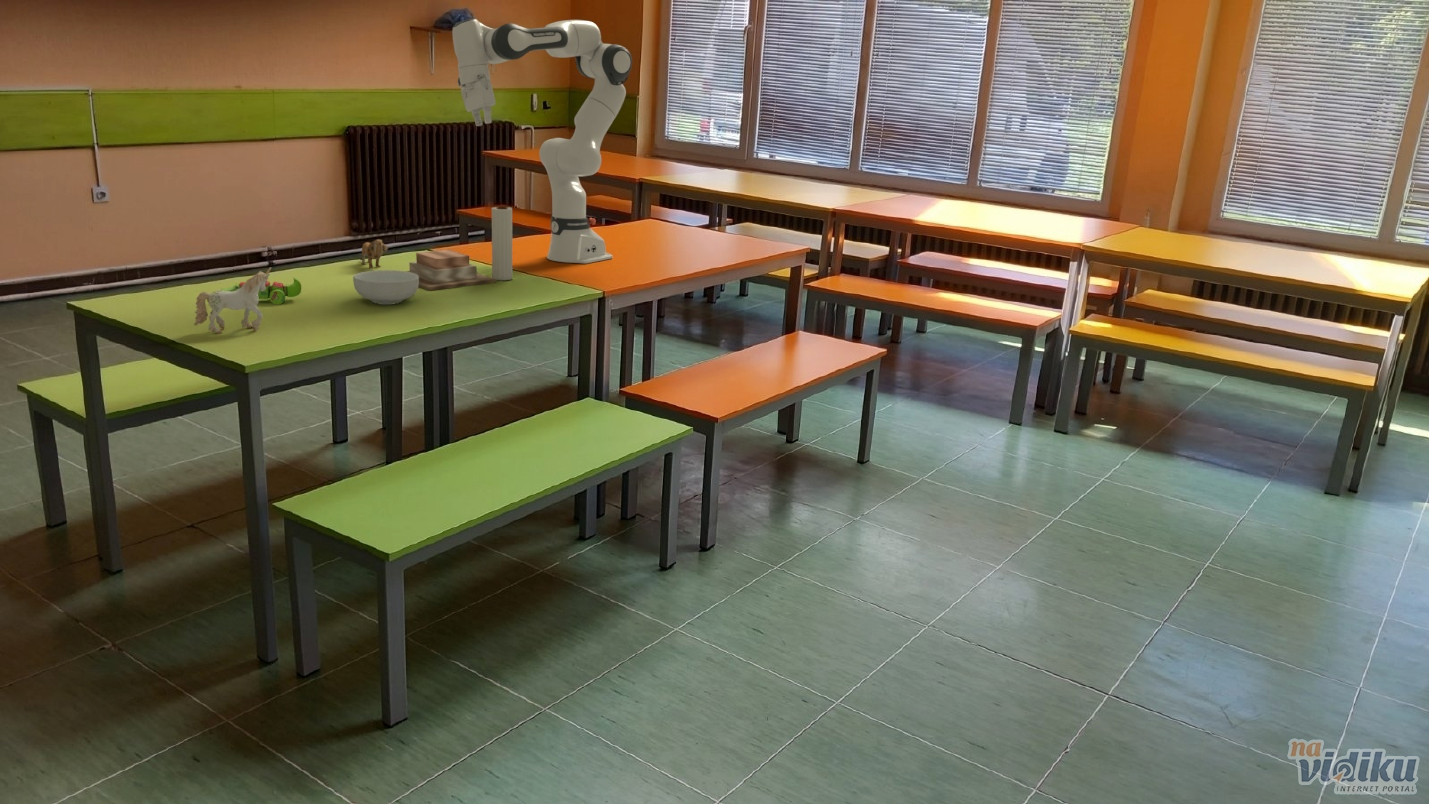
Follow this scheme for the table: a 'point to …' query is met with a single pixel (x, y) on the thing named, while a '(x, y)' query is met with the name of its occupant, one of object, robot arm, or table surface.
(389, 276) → the cereal bowl
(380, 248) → the lion figurine
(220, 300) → the unicorn figurine
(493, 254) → the paper towel roll
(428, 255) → the brown square stepped pedestal
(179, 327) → the table surface
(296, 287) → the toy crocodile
